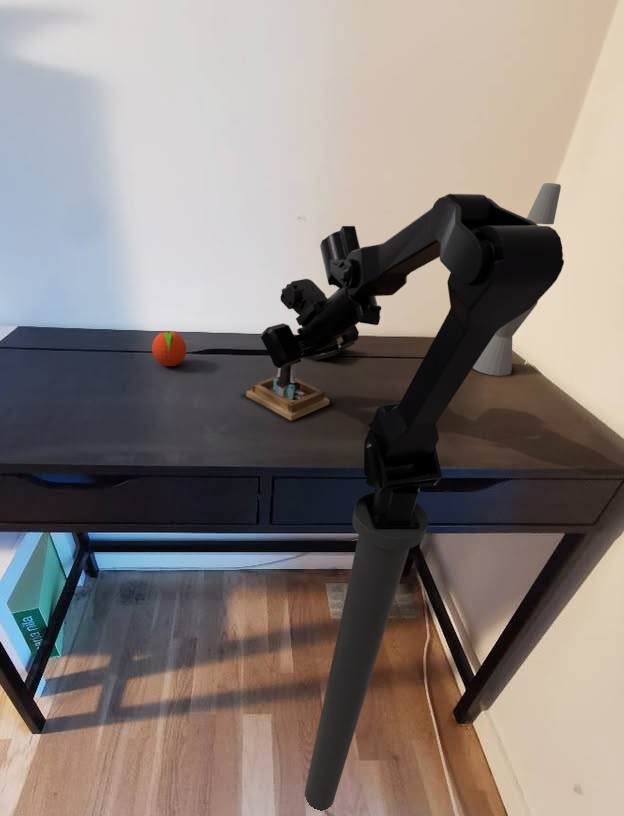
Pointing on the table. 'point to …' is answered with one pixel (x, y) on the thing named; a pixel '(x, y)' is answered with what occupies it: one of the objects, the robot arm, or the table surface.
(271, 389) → the base pad
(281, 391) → the push button
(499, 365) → the lava lamp
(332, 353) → the calculator
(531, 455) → the table surface
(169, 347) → the clementine
